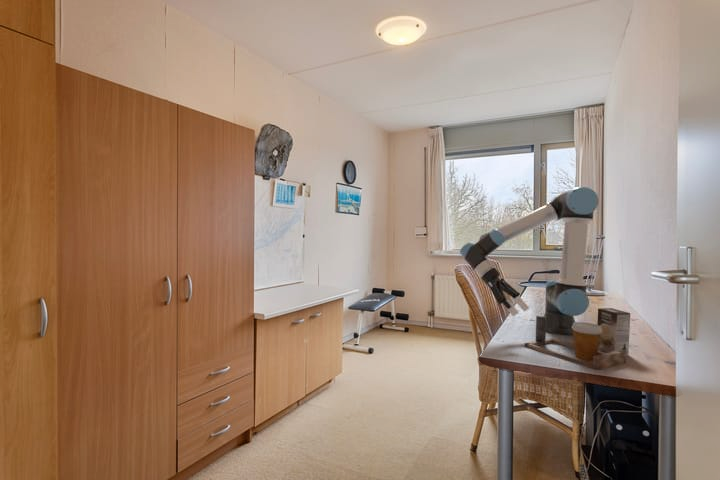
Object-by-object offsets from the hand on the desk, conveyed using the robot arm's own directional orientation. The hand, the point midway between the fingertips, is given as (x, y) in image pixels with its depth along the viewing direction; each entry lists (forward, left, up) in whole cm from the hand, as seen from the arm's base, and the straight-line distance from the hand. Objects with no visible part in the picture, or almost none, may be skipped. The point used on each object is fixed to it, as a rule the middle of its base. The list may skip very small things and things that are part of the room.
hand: (521, 312), depth 155 cm
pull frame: (-3, +20, -12) cm, 23 cm away
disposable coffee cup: (-3, +25, -12) cm, 28 cm away
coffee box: (-20, +25, -12) cm, 34 cm away
